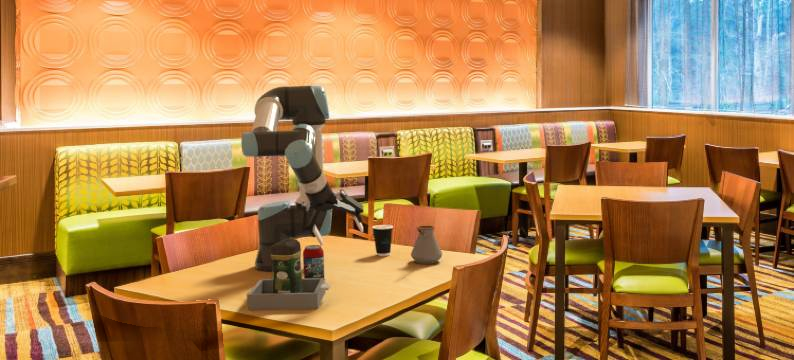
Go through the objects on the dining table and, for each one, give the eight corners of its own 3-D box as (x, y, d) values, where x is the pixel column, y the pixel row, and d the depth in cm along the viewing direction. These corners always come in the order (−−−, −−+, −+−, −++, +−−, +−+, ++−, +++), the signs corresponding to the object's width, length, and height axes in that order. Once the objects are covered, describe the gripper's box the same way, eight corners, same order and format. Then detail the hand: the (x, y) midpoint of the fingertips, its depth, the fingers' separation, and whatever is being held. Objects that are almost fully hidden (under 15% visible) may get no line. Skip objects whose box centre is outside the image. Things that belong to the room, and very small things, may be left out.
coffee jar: (283, 296, 232) (280, 236, 230) (306, 297, 230) (304, 237, 228) (268, 304, 223) (266, 242, 221) (293, 306, 220) (290, 243, 218)
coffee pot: (414, 258, 281) (413, 218, 280) (444, 258, 279) (443, 218, 277) (402, 271, 261) (401, 228, 259) (435, 272, 258) (434, 229, 256)
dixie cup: (386, 257, 283) (385, 229, 281) (369, 255, 287) (368, 227, 286) (397, 253, 289) (396, 225, 288) (380, 252, 294) (379, 224, 292)
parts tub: (260, 293, 236) (260, 279, 235) (333, 292, 235) (332, 278, 235) (247, 310, 217) (246, 294, 217) (326, 308, 217) (325, 293, 216)
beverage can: (308, 286, 243) (307, 249, 242) (301, 281, 249) (299, 246, 248) (327, 283, 247) (326, 247, 245) (320, 278, 252) (318, 243, 251)
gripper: (276, 206, 224) (305, 255, 236) (355, 181, 220) (379, 231, 233) (278, 191, 230) (305, 239, 242) (354, 166, 226) (378, 216, 239)
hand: (341, 236), depth 238 cm, fingers open, 13 cm apart
